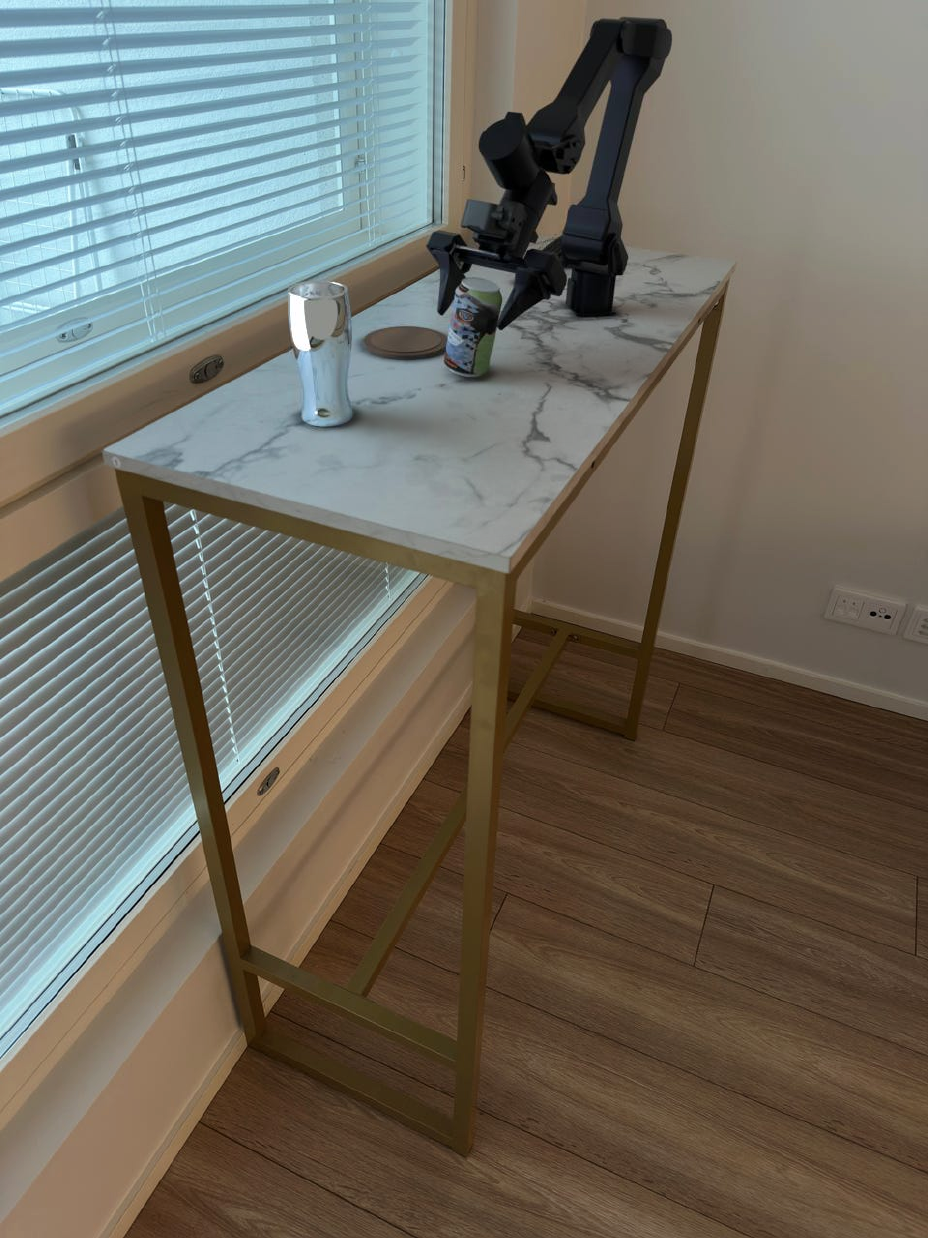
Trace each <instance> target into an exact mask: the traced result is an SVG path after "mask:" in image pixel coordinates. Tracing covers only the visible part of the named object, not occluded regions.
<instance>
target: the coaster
mask: <svg viewBox="0 0 928 1238" xmlns="http://www.w3.org/2000/svg"><path fill="white" fill-rule="evenodd" d="M447 339H448V336H447V335H445V334H444V333H442V332H440V331H438V330H435V329H432V328H428V327H424V326H423V327H422V326H413V325H396V326H388V327H383V328H379V329H376V330H374V331H371V332H369V333H368V334H366V336H364V338H363V347H364V349H365V350H366V351H368V353H370V354H372V355H375V356H378V357H380V358H385V359H392V360H404V361H405V360H407V361H408V360H421V359H426V358H431V357H434V356H438V355H440V354H441V353H444V352H445V351H446V345H447Z"/></svg>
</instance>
